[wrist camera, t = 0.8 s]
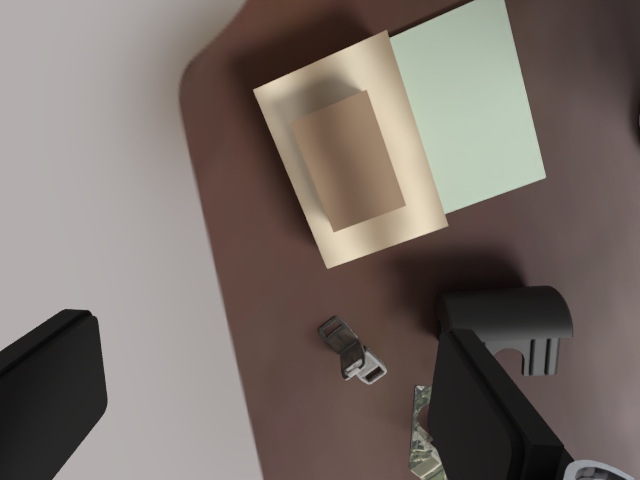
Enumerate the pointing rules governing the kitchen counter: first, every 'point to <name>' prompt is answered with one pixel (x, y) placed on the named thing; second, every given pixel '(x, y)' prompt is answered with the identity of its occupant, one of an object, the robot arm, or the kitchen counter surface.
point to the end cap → (511, 322)
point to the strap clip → (352, 353)
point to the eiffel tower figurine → (424, 443)
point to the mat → (470, 103)
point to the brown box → (348, 161)
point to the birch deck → (397, 130)
